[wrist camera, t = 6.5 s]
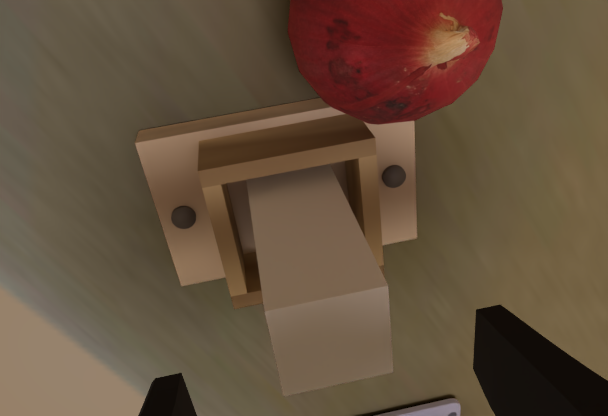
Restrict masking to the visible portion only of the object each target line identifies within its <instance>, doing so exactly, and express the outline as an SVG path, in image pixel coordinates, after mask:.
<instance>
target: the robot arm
mask: <svg viewBox="0 0 608 416" xmlns="http://www.w3.org/2000/svg"><path fill="white" fill-rule="evenodd" d="M473 369H474V372H475V374H476V376H477V378H478V381H479V383H480V385H481V387H482V390H483V392H484V394H485V396H486V398H487V400H488V403H489V405H490V407H491V409H492V410H493V412H494V414H495V415H496V416H608V381H607V380H606V379H604V378H602V377H601V376H599V375H598V374H596V373H595V372H593V371H592V370H590V369H589V368H587V367H586V366H584V365H583V364H581V363H580V362H579V361H577V360H576V359H574V358H573V357H571V356H570V355H568V354H567V353H566V352H564V351H563V350H561V349H560V348H558V347H557V346H556V345H554V344H553V343H552V342H550V341H549V340H547V339H546V338H545V337H543V336H542V335H541V334H539V333H538V332H537V331H535V330H534V329H532V328H531V327H530V326H528V325H527V324H526V323H524V322H523V321H522V320H520V319H519V318H518V317H516V316H515V315H514V314H512V313H511V312H510V311H508V310H507V309H505V308H504V307H503V306H501V305H496V306H491V307H487V308H482V309H477V310H476V323H475V342H474V362H473ZM460 412H461V406H460V404H459V402H458V400H457V399H454V398H449V399H445V400H441V401H436V402H432V403H427V404H423V405H419V406H414V407H410V408H405V409H401V410H397V411H392V412H388V413H383V414H379V415H375V416H460ZM138 416H197V415H196V412H195V409H194V406H193V404H192V401H191V398H190V395H189V393H188V390H187V387H186V384H185V382H184V379H183V376H182V373H178V374H174V375H169V376H164V377H160V378H155V380H154V381H153V382H152V384H151V386H150V389H149V391H148V394H147V396H146V399H145V401H144V404H143V406H142V408H141V411H140V413H139V415H138Z"/></svg>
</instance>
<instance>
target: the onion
mask: <svg viewBox="0 0 608 416" xmlns="http://www.w3.org/2000/svg"><path fill="white" fill-rule="evenodd" d="M502 10H503V6H502V1H501V0H291V1H290V11H289V22H288V35H289V38H290V42H291V45H292V48H293V52H294V55H295V58H296V62H297V65H298V69H299V72H300V73H301V74H302V75H303V77H304V78H305V79H306V80H307V81H308V83H309V84H310V85H311V86H312V88H313V89H314V90H315V91H316V93H317V94H318V95H319V96H320V97H321V99H322V100H323V101H324V102H325V103H326V104H328V105H329V106H331V107H332V108H334V109H336V110H339V111H341V112H343V113H345V114H348V115H350V116H352V117H355V118H357V119H359V120H361V121H364V122H366V123H368V124H377V125H379V124H389V123H398V122H407V121H415V120H417V119H419V118H421V117H423V116H426V115H428V114H430V113H432V112H434V111H436V110H438V109H440V108H442V107H444V106H447V105H449V104H452V103H453V102H454V101H455V100H456V99H457V98H458V97H460V96H461V95H462V94H463V93H464V92H465V91H466V90H467V89H468V88H469V87H470V86H471V85H472V84H473V83H474V82H476V81H477V79H478V78H479V76H480V74H481V72H482V70H483V68H484V66H485V65H486V63H487V61H488V59H489V57H490V55H491V54H492V52H493V50H494V47H495V43H496V38H497V33H498V29H499V24H500V20H501V15H502Z"/></svg>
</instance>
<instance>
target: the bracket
mask: <svg viewBox="0 0 608 416" xmlns="http://www.w3.org/2000/svg"><path fill="white" fill-rule="evenodd" d="M135 145H136V148H137V151H138V154H139V157H140V160H141V163H142V166H143V170H144V173H145V176H146V179H147V182H148V185H149V188H150V191H151V194H152V197H153V200H154V203H155V206H156V210H157V213H158V216H159V219H160V222H161V225H162V228H163V231H164V234H165V237H166V240H167V243H168V246H169V250H170V253H171V256H172V259H173V262H174V265H175V268H176V271H177V274H178V277H179V280H180V283H181V286H186V285H190V284H195V283H200V282H205V281H210V280H215V279H220V278H225V277H226V280H227V284H228V288H229V291H230V295H231V299H232V303H233V306H234V309H238V308H242V307H247V306H252V305H257V304H262V303H263V297H262V290H261V283H260V276H259V268H258V261H257V254H256V247H255V240H254V232H253V225H252V218H251V211H250V204H249V196H248V189H247V182H246V180H247V179H253V178H258V177H263V176H268V175H273V174H279V173H284V172H289V171H294V170H300V169H305V168H310V167H315V166H321V165H326V164H330V166H331V168H332V170H333V172H334V174H335V176H336V178H337V180H338V182H339V185H340V187H341V189H342V191H343V193H344V195H345V197H346V199H347V201H348V203H349V205H350V207H351V210H352V212H353V214H354V216H355V218H356V220H357V222H358V224H359V226H360V228H361V230H362V232H363V234H364V237H365V239H366V241H367V243H368V245H369V247H370V249H371V251H372V253H373V255H374V257H375V259H376V262H377V264H378V266H379V268H380V270H381V272H382V274H383V276H384V261H383V245H387V244H392V243H396V242H401V241H406V240H411V239H416V238H417V212H416V171H415V130H414V121H407V122H398V123H389V124H379V125H377V124H368V123H366V122H364V121H361V120H359V119H357V118H355V117H352V116H350V115H348V114H345V113H343V112H341V111H339V110H336V109H334V108H332V107H331V106H329V105H328V104H326V103H325V102H324V101H323V100H322V99H321V98H316V99H310V100H305V101H299V102H294V103H288V104H283V105H277V106H272V107H266V108H261V109H255V110H250V111H244V112H239V113H233V114H228V115H222V116H217V117H211V118H206V119H200V120H195V121H189V122H184V123H178V124H173V125H167V126H162V127H156V128H151V129H145V130H140V131H139V132H138V135H137V138H136V141H135ZM384 278H385V276H384Z"/></svg>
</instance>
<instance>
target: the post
mask: <svg viewBox="0 0 608 416" xmlns="http://www.w3.org/2000/svg"><path fill="white" fill-rule="evenodd" d="M246 182H247V189H248V196H249V204H250V211H251V218H252V225H253V232H254V240H255V247H256V254H257V261H258V268H259V276H260V283H261V290H262V297H263V304H264V312H265V316H266V321H267V325H268V329H269V334H270V338H271V343H272V347H273V352H274V356H275V360H276V365H277V369H278V374H279V378H280V383H281V387H282V392H283V396H284V397H285V396H289V395H294V394H298V393H303V392H307V391H312V390H316V389H321V388H325V387H330V386H334V385H339V384H343V383H348V382H353V381H357V380H362V379H366V378H371V377H375V376H380V375H384V374H389V373H393V357H392V340H391V324H390V308H389V292H388V284H387V282H386V280H385V278H384V276H383V274H382V272H381V270H380V268H379V266H378V264H377V262H376V259H375V257H374V255H373V253H372V251H371V249H370V247H369V245H368V243H367V241H366V239H365V237H364V234H363V232H362V230H361V228H360V226H359V224H358V222H357V220H356V218H355V216H354V214H353V212H352V210H351V207H350V205H349V203H348V201H347V199H346V197H345V195H344V193H343V191H342V189H341V187H340V185H339V182H338V180H337V178H336V176H335V174H334V172H333V170H332V168H331V166H330V164H326V165H321V166H315V167H310V168H305V169H300V170H294V171H289V172H284V173H279V174H273V175H268V176H263V177H258V178H253V179H247V180H246Z"/></svg>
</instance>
